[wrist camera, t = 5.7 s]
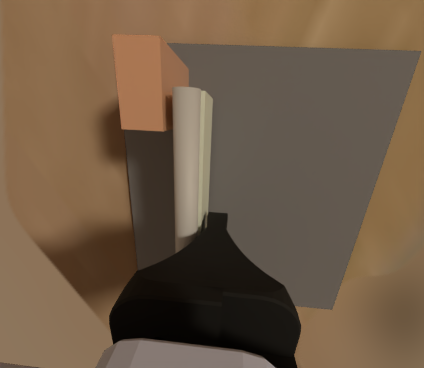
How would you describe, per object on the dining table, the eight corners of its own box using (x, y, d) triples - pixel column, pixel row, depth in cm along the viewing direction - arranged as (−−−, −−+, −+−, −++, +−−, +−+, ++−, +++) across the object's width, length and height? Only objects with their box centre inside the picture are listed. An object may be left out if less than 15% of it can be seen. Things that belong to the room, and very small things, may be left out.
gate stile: (188, 124, 12) (163, 131, 7) (162, 123, 12) (121, 128, 7) (188, 69, 11) (159, 35, 6) (160, 67, 11) (112, 34, 6)
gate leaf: (205, 268, 15) (195, 338, 10) (190, 267, 15) (173, 336, 11) (212, 98, 11) (201, 87, 6) (191, 97, 11) (165, 85, 6)
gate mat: (329, 305, 16) (332, 309, 16) (141, 286, 17) (139, 290, 17) (414, 53, 10) (421, 51, 10) (119, 43, 11) (115, 41, 11)
